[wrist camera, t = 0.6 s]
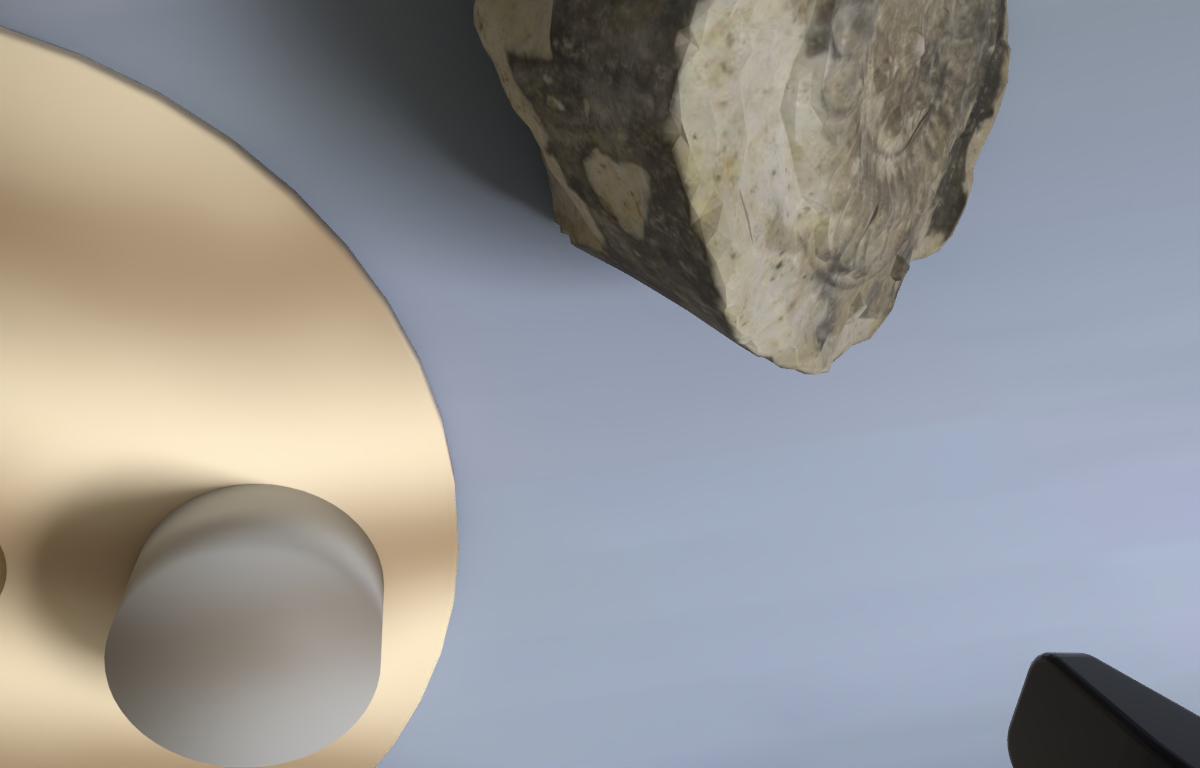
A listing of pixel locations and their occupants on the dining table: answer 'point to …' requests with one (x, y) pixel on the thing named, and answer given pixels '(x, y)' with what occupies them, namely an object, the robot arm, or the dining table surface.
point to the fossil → (758, 147)
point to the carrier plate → (199, 451)
